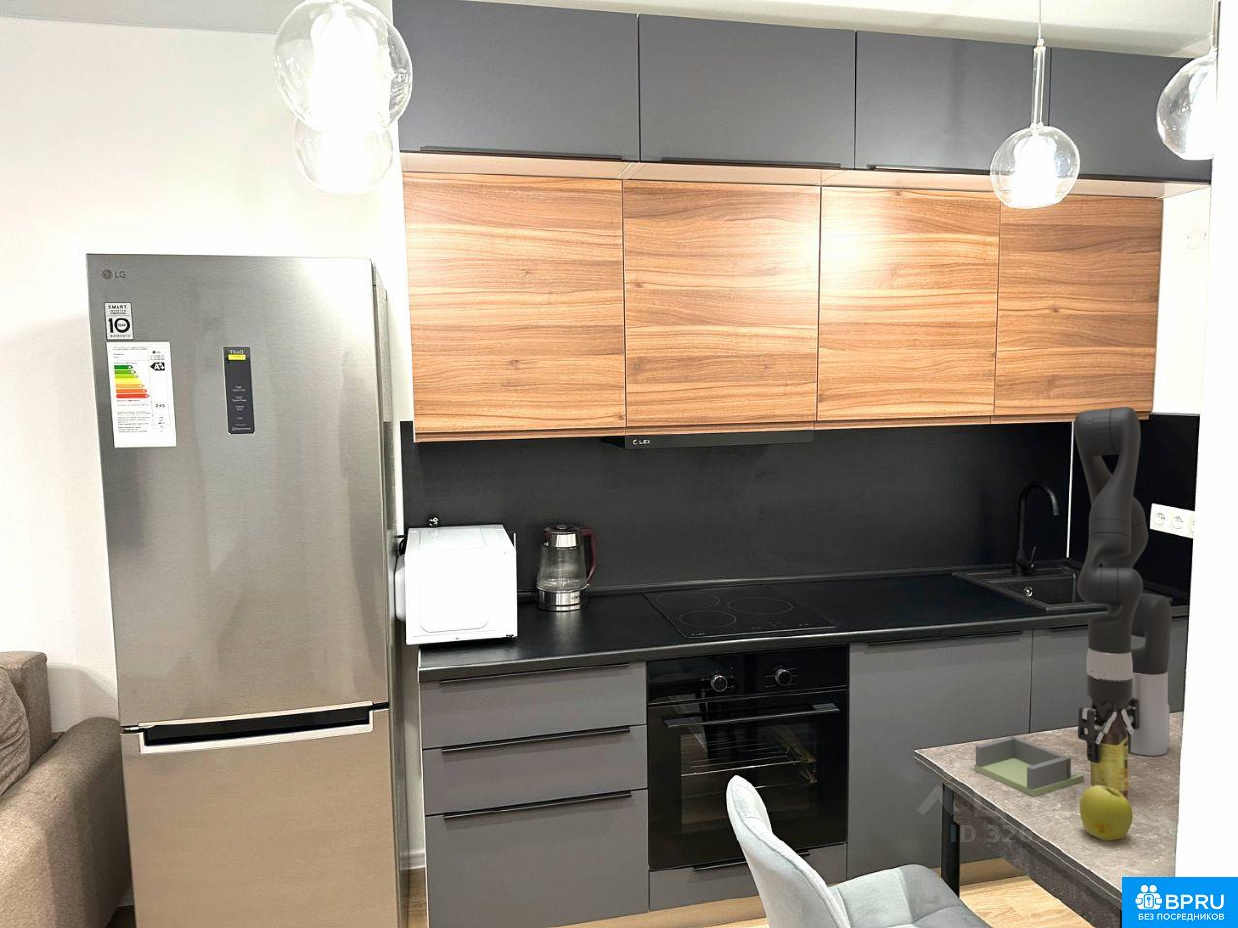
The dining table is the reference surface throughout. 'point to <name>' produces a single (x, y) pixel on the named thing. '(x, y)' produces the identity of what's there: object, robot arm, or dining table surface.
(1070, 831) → the dining table surface
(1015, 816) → the dining table surface
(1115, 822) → the apple
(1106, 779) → the sauce bottle
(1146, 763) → the dining table surface
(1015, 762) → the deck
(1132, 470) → the robot arm
